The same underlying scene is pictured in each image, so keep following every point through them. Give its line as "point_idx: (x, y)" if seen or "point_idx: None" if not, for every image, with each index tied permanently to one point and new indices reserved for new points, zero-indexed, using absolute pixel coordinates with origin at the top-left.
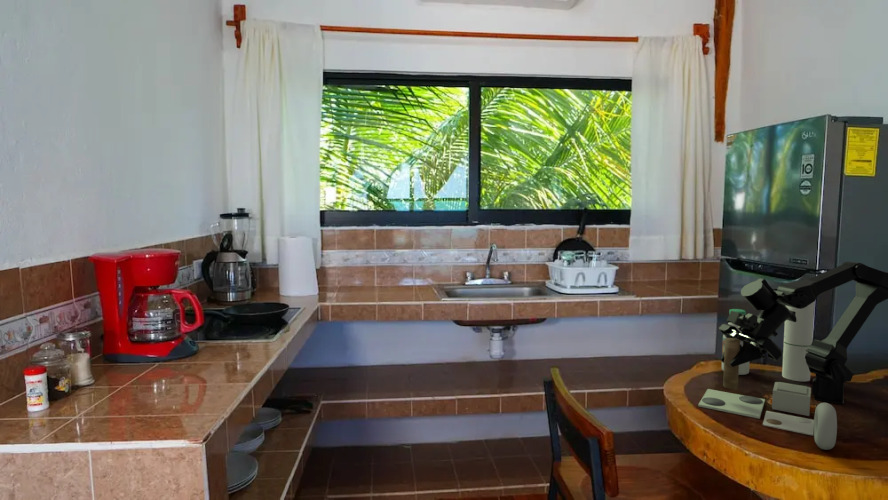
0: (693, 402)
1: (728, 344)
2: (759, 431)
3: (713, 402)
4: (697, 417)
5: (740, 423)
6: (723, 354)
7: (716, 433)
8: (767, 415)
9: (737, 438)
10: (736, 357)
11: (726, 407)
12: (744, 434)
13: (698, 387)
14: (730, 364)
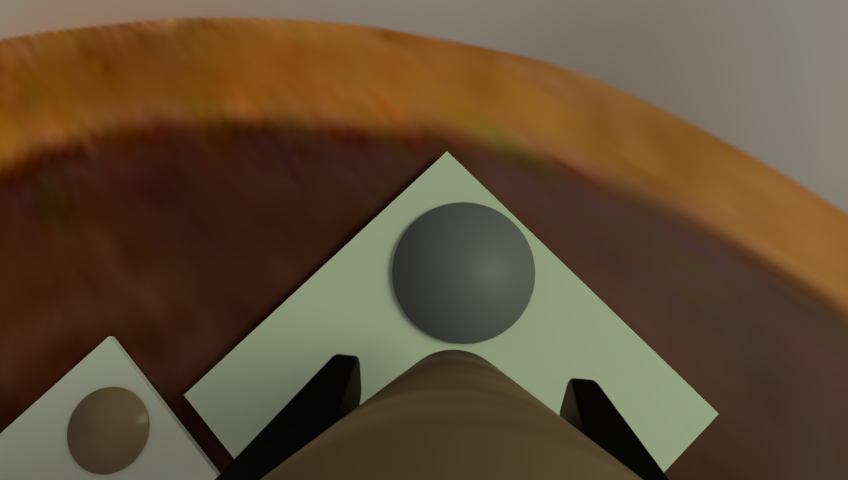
0: (514, 169)
1: (368, 418)
2: (61, 255)
3: (443, 256)
4: (305, 57)
5: (174, 230)
6: (638, 459)
7: (115, 30)
8: (198, 474)
9: (39, 89)
10: (251, 456)
11: (359, 289)
12: (61, 153)
13: (796, 393)
14: (341, 355)
